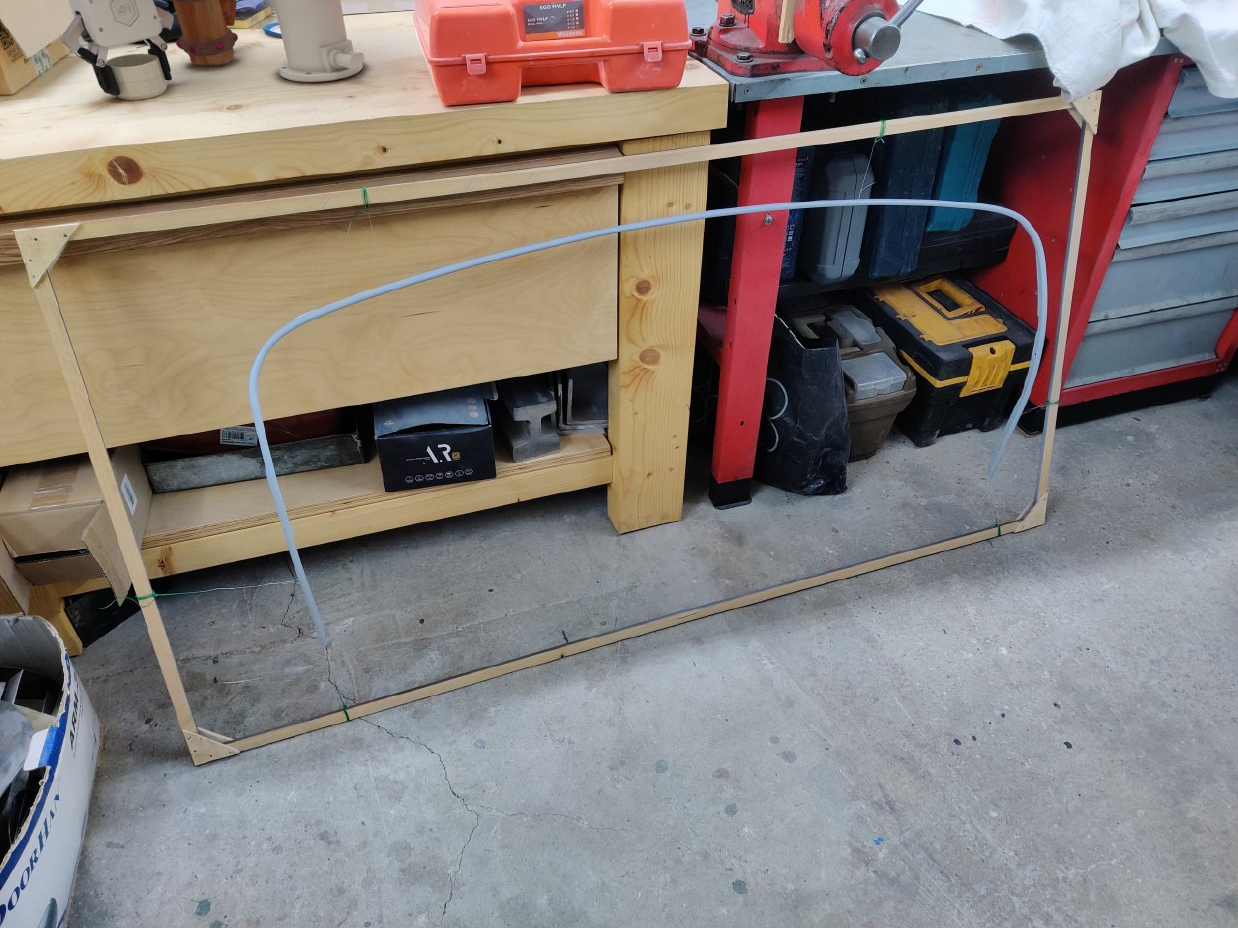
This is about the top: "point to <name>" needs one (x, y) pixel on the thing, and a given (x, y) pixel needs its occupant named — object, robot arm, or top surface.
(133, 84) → the bowl
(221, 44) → the mug
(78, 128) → the top surface
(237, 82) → the top surface
